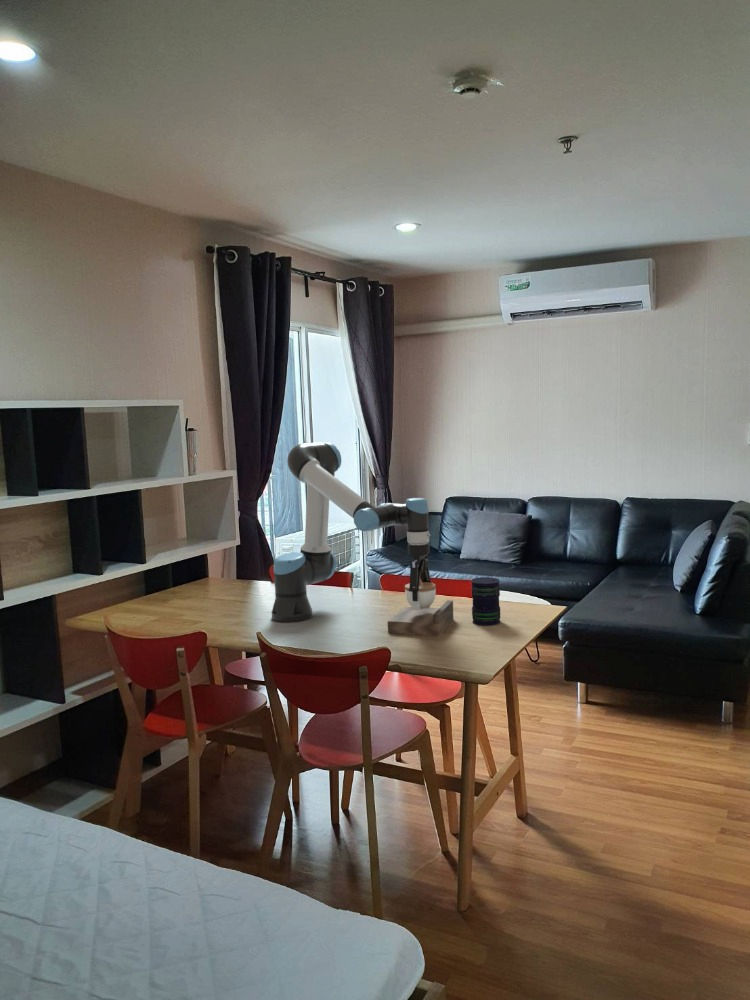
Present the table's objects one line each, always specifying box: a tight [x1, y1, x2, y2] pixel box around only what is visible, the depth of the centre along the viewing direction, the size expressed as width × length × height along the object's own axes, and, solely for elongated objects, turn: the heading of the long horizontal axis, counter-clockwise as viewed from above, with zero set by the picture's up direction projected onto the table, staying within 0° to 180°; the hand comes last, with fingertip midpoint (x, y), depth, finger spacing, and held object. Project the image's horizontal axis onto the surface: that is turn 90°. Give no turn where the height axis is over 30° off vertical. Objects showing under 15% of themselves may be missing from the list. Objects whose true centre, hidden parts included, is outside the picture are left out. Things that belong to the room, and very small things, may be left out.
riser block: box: [387, 600, 455, 636], centre depth 267 cm, size 18×20×7 cm
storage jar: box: [470, 576, 501, 627], centre depth 268 cm, size 10×10×15 cm
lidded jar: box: [404, 579, 437, 609], centre depth 266 cm, size 11×11×9 cm
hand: (420, 606), depth 267 cm, fingers closed on lidded jar, 11 cm apart
